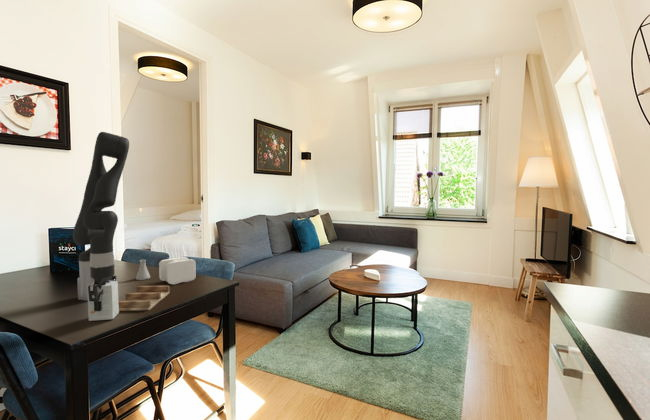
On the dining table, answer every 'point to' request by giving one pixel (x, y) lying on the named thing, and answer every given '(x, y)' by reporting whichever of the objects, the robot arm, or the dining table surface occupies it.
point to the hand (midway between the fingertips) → (103, 307)
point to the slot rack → (144, 298)
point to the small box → (105, 303)
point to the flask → (142, 271)
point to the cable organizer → (177, 270)
